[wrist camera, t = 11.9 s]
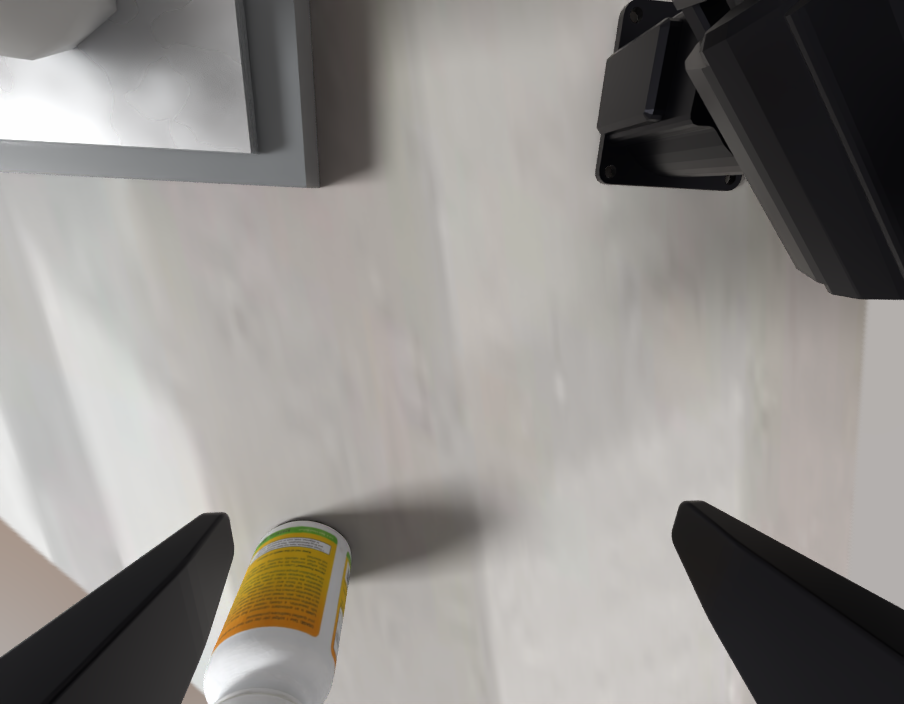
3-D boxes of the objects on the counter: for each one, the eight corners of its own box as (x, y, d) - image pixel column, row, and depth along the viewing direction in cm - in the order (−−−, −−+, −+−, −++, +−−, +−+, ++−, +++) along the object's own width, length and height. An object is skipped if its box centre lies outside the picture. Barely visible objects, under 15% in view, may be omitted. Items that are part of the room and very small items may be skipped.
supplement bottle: (237, 542, 24) (133, 755, 15) (319, 502, 24) (263, 696, 15) (293, 600, 26) (230, 820, 17) (370, 564, 26) (348, 770, 17)
